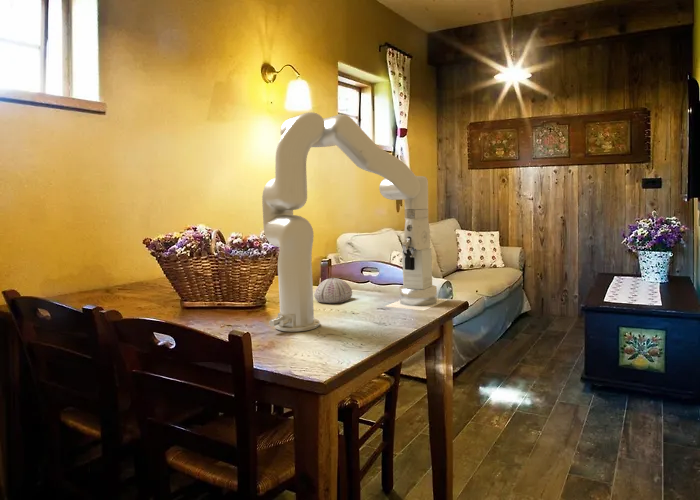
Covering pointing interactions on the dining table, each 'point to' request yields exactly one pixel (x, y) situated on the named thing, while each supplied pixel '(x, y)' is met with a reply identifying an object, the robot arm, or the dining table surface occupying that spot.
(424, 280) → the supplement box
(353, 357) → the dining table surface
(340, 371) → the dining table surface
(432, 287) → the round metal tin
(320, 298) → the sea urchin shell
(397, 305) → the base board
